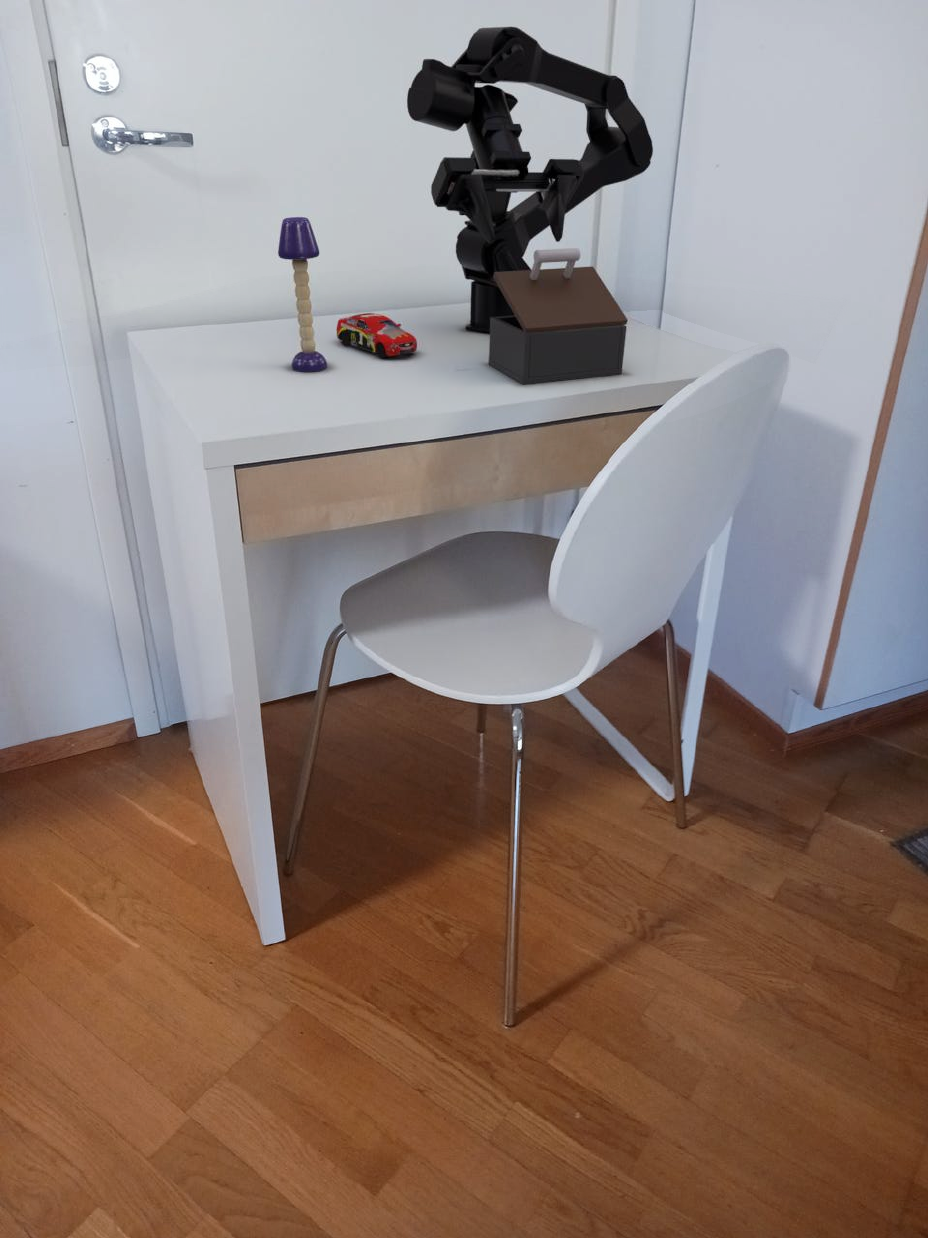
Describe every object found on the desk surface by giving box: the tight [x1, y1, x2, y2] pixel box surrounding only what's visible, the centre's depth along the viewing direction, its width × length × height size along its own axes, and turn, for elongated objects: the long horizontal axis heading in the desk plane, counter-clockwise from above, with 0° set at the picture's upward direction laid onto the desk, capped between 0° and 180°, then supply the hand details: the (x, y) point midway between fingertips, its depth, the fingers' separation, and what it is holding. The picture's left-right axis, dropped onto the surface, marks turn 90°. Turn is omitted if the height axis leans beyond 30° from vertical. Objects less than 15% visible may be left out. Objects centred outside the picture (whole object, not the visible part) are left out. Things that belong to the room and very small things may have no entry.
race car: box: [336, 312, 418, 359], centre depth 122 cm, size 13×5×4 cm, turn 40°
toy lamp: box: [277, 216, 328, 373], centre depth 110 cm, size 5×5×17 cm
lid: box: [493, 247, 629, 333], centre depth 110 cm, size 10×13×4 cm
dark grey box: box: [488, 315, 627, 385], centre depth 115 cm, size 9×13×6 cm
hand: (526, 240), depth 116 cm, fingers open, 9 cm apart
